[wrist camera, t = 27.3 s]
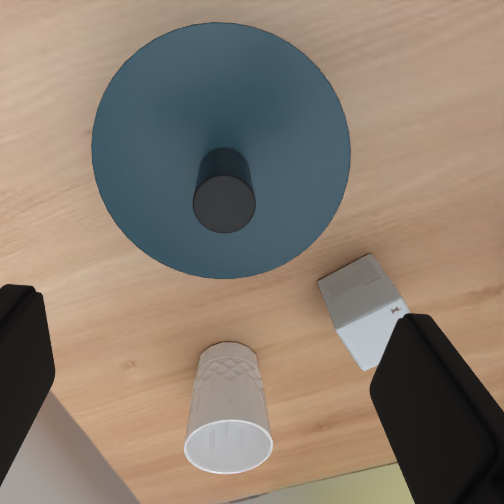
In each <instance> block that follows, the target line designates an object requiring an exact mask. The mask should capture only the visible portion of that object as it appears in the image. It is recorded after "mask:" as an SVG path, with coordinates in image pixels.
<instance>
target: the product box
mask: <svg viewBox="0 0 504 504" xmlns="http://www.w3.org/2000/svg"><path fill="white" fill-rule="evenodd" d="M317 283H318V286H319V289H320V291H321V294H322V296H323V299H324V301H325V303H326V306H327V309H328V311H329V314H330V317H331V319H332V322H333V324H334V327H335V330H336V332H337V334H338V335H339V337H340V339H341V340H342V342H343V343H344V345H345V346H346V348H347V349H348V351H349V352H350V354H351V355H352V357H353V358H354V360H355V361H356V363H357V364H358V365H359V367H360V368H361V369H362V371H365V370H368V369H370V368H373V367H375V366H377V365H379V362H380V360H381V358H382V355H383V353H384V350H385V348H386V346H387V343H388V341H389V339H390V336H391V334H392V332H393V329H394V327H395V324H396V322H397V320H398V319H399V318H403V316H404V315H405V314H407V313H410V311H409V309H408V307H407V305H406V303H405V301H404V299H403V297H402V296H401V294H400V293H399V292H398V290H397V289H396V287H395V286H394V284H393V283H392V282H391V280H390V279H389V277H388V276H387V274H386V273H385V272H384V270H383V269H382V267H381V266H380V264H379V263H378V262H377V260H376V259H375V257H374V256H373V255H372V254H368V255H366V256H364V257H362V258H360V259H358V260H356V261H354V262H353V263H351V264H349V265H347V266H345V267H343V268H342V269H340V270H338V271H336V272H334V273H332V274H330V275H328V276H326V277H325V278H323V279H321V280H319V281H318V282H317Z"/></svg>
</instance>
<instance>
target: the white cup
mask: <svg viewBox="0 0 504 504" xmlns="http://www.w3.org/2000/svg"><path fill="white" fill-rule="evenodd" d="M272 449H273V440H272V434H271V429H270V423H269V417H268V411H267V405H266V399H265V393H264V388H263V384H262V378H261V376H260V373H259V367H258V362H257V357H256V355H255V354H254V353H253V351H252V350H251V349H250V348H249V347H247V346H244V345H242V344H239V343H236V342H222V343H219V344H216V345H213V346H210V347H209V348H208V349H207V350H205V351H204V352H203V353H202V354H201V355H200V358H199V362H198V365H197V371H196V377H195V380H194V385H193V391H192V396H191V402H190V409H189V416H188V423H187V430H186V436H185V443H184V453H185V456H186V458H187V459H188V460H189V462H190V463H191V464H193V465H194V466H196V467H197V468H199V469H201V470H204V471H207V472H211V473H217V474H234V473H240V472H244V471H247V470H250V469H253V468H255V467H257V466H258V465H260V464H262V463H263V462H264V461H265V460H266V459H267V458H268V457H269V455H270V454H271V452H272Z"/></svg>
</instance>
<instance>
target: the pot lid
mask: <svg viewBox="0 0 504 504" xmlns="http://www.w3.org/2000/svg"><path fill="white" fill-rule="evenodd" d="M91 147H92V164H93V169H94V175H95V180H96V183H97V186H98V189H99V192H100V195H101V197H102V200H103V202H104V204H105V206H106V208H107V210H108V212H109V213H110V215H111V217H112V218H113V220H114V221H115V223H116V224H117V226H118V227H119V228H120V229H121V230H122V232H123V233H124V234H125V235H126V236H127V237H128V238H129V239H130V240H131V241H132V242H133V243H134V244H135V245H136V246H137V247H138V248H139V249H141V250H142V251H143V252H145V253H146V254H147V255H149V256H150V257H152V258H153V259H155V260H157V261H158V262H160V263H162V264H164V265H166V266H168V267H170V268H173V269H175V270H177V271H180V272H183V273H186V274H190V275H194V276H199V277H204V278H214V279H235V278H243V277H249V276H253V275H257V274H261V273H264V272H267V271H270V270H272V269H275V268H277V267H279V266H281V265H283V264H285V263H287V262H289V261H290V260H292V259H293V258H295V257H296V256H298V255H299V254H301V253H302V252H303V251H304V250H306V249H307V248H308V247H309V246H310V245H311V244H312V243H313V242H314V241H315V240H316V239H317V238H318V237H319V236H320V235H321V234H322V232H323V231H324V230H325V229H326V227H327V226H328V225H329V223H330V221H331V220H332V218H333V216H334V215H335V213H336V211H337V209H338V207H339V205H340V202H341V200H342V198H343V195H344V192H345V188H346V185H347V182H348V175H349V169H350V153H351V148H350V138H349V130H348V126H347V122H346V118H345V114H344V112H343V109H342V106H341V104H340V101H339V99H338V97H337V95H336V93H335V91H334V90H333V88H332V86H331V84H330V82H329V81H328V80H327V79H326V77H325V76H324V75H323V73H322V72H321V71H320V69H319V68H318V67H317V66H316V65H315V64H314V63H313V62H312V61H311V60H310V59H309V58H308V57H307V56H306V55H305V54H304V53H302V52H301V51H300V50H298V49H297V48H296V47H294V46H293V45H292V44H290V43H289V42H287V41H285V40H283V39H281V38H279V37H277V36H276V35H274V34H272V33H269V32H266V31H263V30H261V29H258V28H255V27H251V26H246V25H241V24H236V23H220V22H211V23H203V24H194V25H190V26H186V27H183V28H179V29H176V30H173V31H171V32H168V33H166V34H164V35H162V36H160V37H157V38H155V39H154V40H152V41H151V42H149V43H148V44H146V45H145V46H143V47H142V48H140V49H139V50H138V51H137V52H136V53H135V54H134V55H132V56H131V57H130V58H129V59H128V60H127V61H126V62H125V63H124V64H123V65H122V67H121V68H120V69H119V70H118V72H117V73H116V74H115V75H114V77H113V78H112V80H111V82H110V83H109V85H108V87H107V89H106V90H105V92H104V94H103V97H102V99H101V102H100V104H99V107H98V109H97V113H96V117H95V121H94V126H93V133H92V144H91Z"/></svg>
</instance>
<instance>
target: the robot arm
mask: <svg viewBox="0 0 504 504" xmlns="http://www.w3.org/2000/svg"><path fill="white" fill-rule="evenodd" d="M54 378H55V365H54V359H53V353H52V347H51V341H50V335H49V329H48V323H47V318H46V312H45V306H44V300H43V295H42V294H41V293H40V292H36V290H35V288H34V287H33V286H27V285H13V284H6V285H4V286H3V287H2V288H1V289H0V486H1V484H2V482H3V480H4V478H5V476H6V474H7V473H8V471H9V468H10V467H11V465H12V462H13V461H14V459H15V457H16V455H17V453H18V451H19V449H20V447H21V445H22V443H23V441H24V439H25V437H26V435H27V433H28V431H29V429H30V427H31V426H32V424H33V421H34V420H35V418H36V416H37V414H38V412H39V410H40V408H41V406H42V404H43V402H44V400H45V398H46V396H47V394H48V392H49V390H50V388H51V386H52V384H53V382H54ZM370 396H371V399H372V402H373V404H374V406H375V409H376V411H377V414H378V416H379V418H380V421H381V423H382V426H383V428H384V430H385V433H386V435H387V438H388V440H389V442H390V445H391V447H392V450H393V452H394V454H395V457H396V459H397V462H398V464H399V466H400V469H401V471H402V474H403V476H404V478H405V481H406V483H407V486H408V488H409V490H410V493H411V495H412V498H413V500H414V502H415V504H504V412H503V410H502V409H501V408H500V406H499V405H498V404H497V402H496V401H495V400H494V399H493V397H492V396H491V395H490V393H489V392H488V391H487V389H486V388H485V387H484V385H483V384H482V383H481V382H480V380H479V379H478V378H477V376H476V375H475V374H474V372H473V371H472V370H471V368H470V367H469V366H468V364H467V363H466V362H465V361H464V359H463V358H462V357H461V355H460V354H459V353H458V351H457V350H456V349H455V347H454V346H453V345H452V344H451V342H450V341H449V340H448V338H447V337H446V336H445V334H444V333H443V332H442V330H441V329H440V328H439V327H438V325H437V324H436V323H435V321H434V320H433V319H432V318H431V317H430V316H429V315H427V314H414V313H407V314H405V315H404V316H403V318H399V319H398V320H397V322H396V324H395V327H394V329H393V332H392V334H391V336H390V339H389V341H388V343H387V346H386V348H385V350H384V353H383V355H382V358H381V360H380V362H379V365H378V367H377V369H376V372H375V374H374V377H373V379H372V381H371V384H370Z"/></svg>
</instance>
